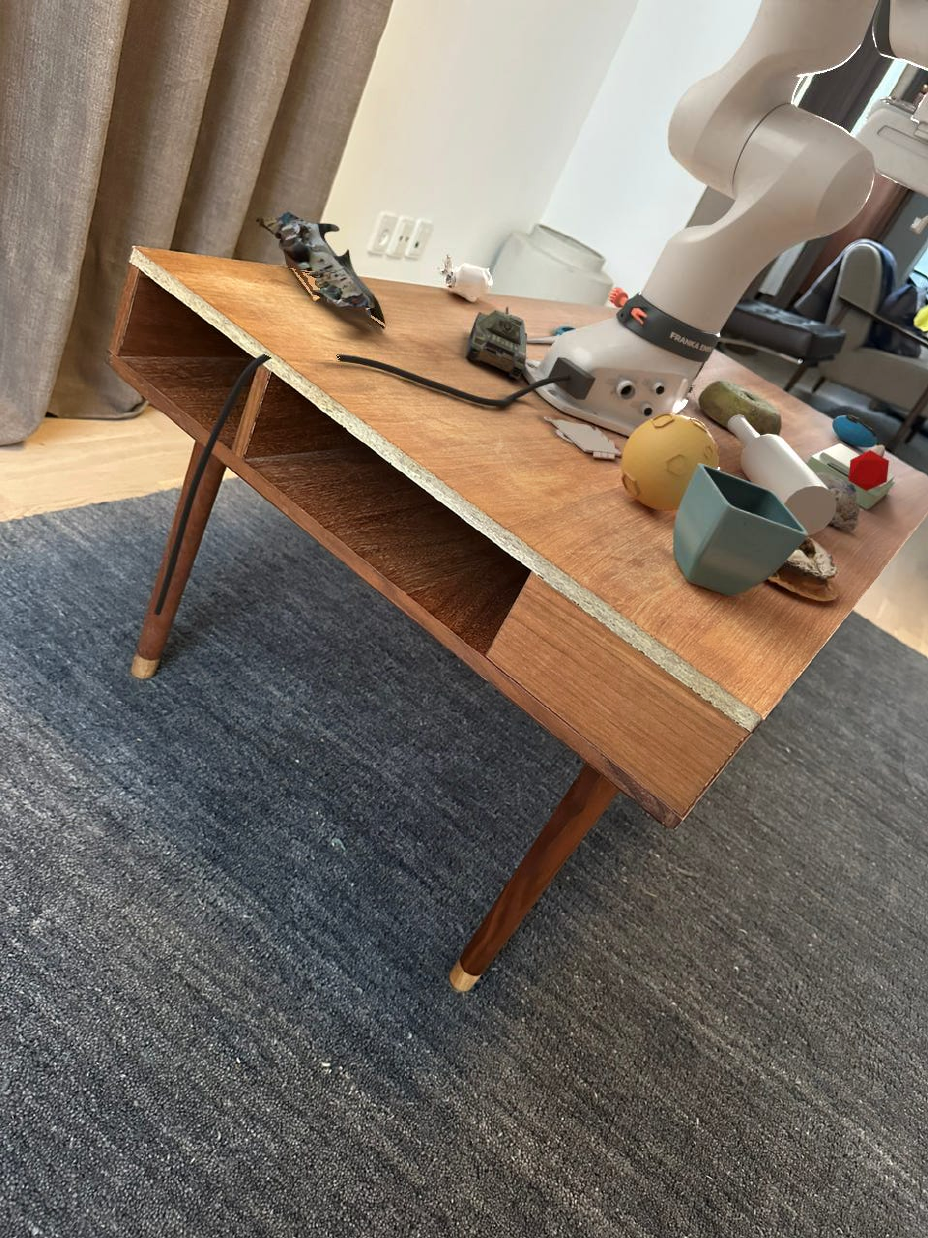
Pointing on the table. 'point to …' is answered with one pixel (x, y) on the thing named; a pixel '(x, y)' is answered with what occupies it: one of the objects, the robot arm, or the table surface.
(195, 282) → the table surface
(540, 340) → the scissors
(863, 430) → the ornament
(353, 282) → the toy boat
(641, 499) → the stress ball
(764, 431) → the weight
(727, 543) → the flower pot
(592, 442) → the decorative emblem
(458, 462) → the table surface
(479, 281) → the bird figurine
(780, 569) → the cake on gold board
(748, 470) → the bottle
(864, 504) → the pale green slotted box
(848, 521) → the mineral specimen
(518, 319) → the toy tank
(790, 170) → the robot arm
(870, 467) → the decorative stake
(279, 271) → the table surface
